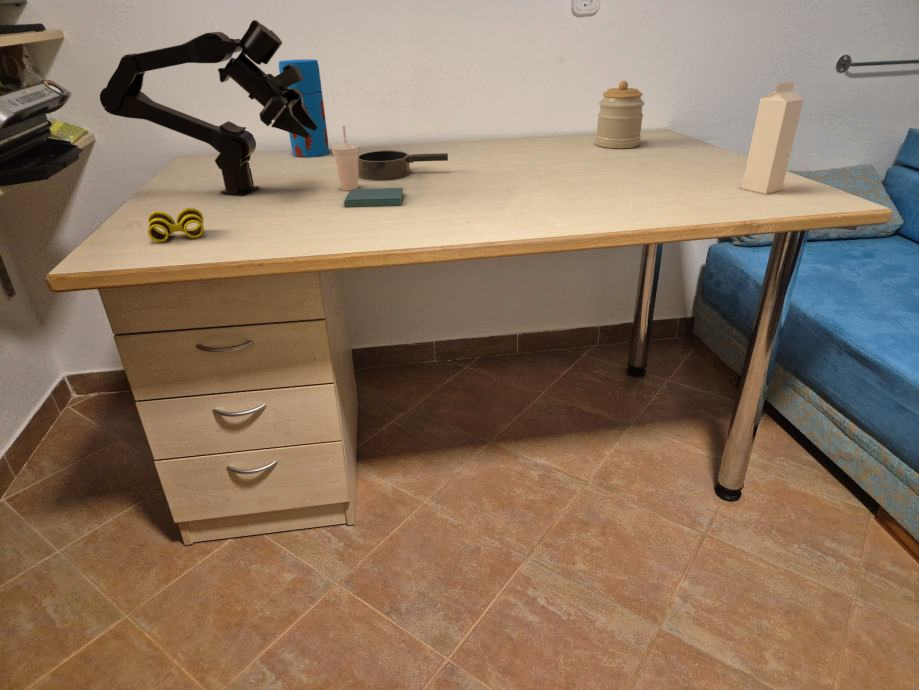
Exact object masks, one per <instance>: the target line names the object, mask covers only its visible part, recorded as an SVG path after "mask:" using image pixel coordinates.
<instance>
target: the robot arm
mask: <svg viewBox="0 0 919 690" xmlns="http://www.w3.org/2000/svg"><path fill="white" fill-rule="evenodd" d="M282 44H283V41H282V40H281V38H280V37H279V36H278V34H276V33H275V32H274V31H273V30H271V29H269V28H268V27H267V26H265V25H263V24H262V23H261V22H259V21H258V20H257V19H253V20H252V21H251V22H250V24H249V26H248V29H247V30H246V31H245V33H244V34H243V36H242V37H241V39H240V38H230V37H229V35H228V34H226V33H224V32H222V31H211V32H205V33H202V34H200V35H198V36H195V37H194V38H192V39H190V40H188V41H186V42H184V43H182V44H178V45H173V46H168V47H164V48H158V49H154V50H149V51H143V52H139V53H136V52H135V53H128V54H123V55H122V57H121V58H120V60H119V63H118V65H117V68H116V69H115V71H114V72H113V73H112V75H111V77H110V78H109V80H108V82H107V85H106V87H104V88H103V89H101V91H100V94H99V101H100V104H101V106H102V108H103V111H105V112H107V113H108V114H110V115H113V116H118V117H123V118H125V119H126V118H128V119H137V120H144V121H148V122H151V123H154V124H156V125H159V126H161V127H164V128H166V129H168V130H171V131H175V132H177V133H180V134H182V135H184V136H187V137H190V138H193V139H195V140H198V141H200V142H203V143H205V144H208V145H209V146H211V147H212V148H213V149H214V150H215V151H216V152H218V153H219V154H218V155H217V156H216V158H215V159H214V162H215V164H216V166H217V167H218V169H219V170H221V174H222V179H223V184H224V188H225V189H222V190H221V191H220V193H221V194H222V195H223V194H224V195H234V196H235V195H237V196H244V195H247V194H250V193H252V192H254V191H256V190H259V189H260V186H259V185H254V179H253V173H252V169H251V166H250V160H251V158H252V157H251V156H252V154H253V153H254V152H255V151H256V148H257V142H256V139H255V137H254V135H253V133H251V132H250V131H249V130H246V129H247V127H246V126H239V125H237V124H236V123H234V122H231V121H229V120H228V121H226V122H224V123H222V124H220V125H215V124H213V123H210V122H208V121H205V120H202V119H200V118H198V117H195V116H192V115H189V114H187V113H185V112H182V111H179V110H176V109H174V108H172V107H169V106H167V105H164V104H161V103H158V102H157V101H154V100H152V99H151V98H150V97H149V96H148V95H147V94H146V93H144V92H143V91H142V88H143V85H144V77H145V74H146V72H149V71H154V70H160V69H165V68H169V67H174V66H179V65H184V64H219V63H222V62H226V61H228V62H227V63H226V65H225V66H224V67H218V68H217V71H218V74H219V82H220V83H226V82H228V81H229V80H230V79H232V80H233V81H234V82H235V83H236V84H237V85H238V86H239V87H240V88H242V89H243V90H244V91H245V92H246V93H248V98H249V99H250V100H255V101H256V102H258V103H259V104H260V105H261V106H262V107H263V108H262V110H261V111H260V112H259V119H260V121H261V122H262V123H263V124H264V125H266V127H269V126H270V127H271V128H275V129H278V130H281V131H284V132H287V133H289V132H290V133H293V134H296V135H299V136H301V137H304V138H308V137H309V135H310V134H309V133H308V131H307V130H306V129H305V128H304V127H303V126H305V127H307V128H309V129H311V130H314V131H315V130H316V129H317V126H316V124H315V123H314V121H313V120H312V118H311V117H310V116H309V114H308V113H307V111H306V110H305V108H304V106H303V96H301V95H302V93H301V92H300V91H299V90H298V89H297V88H289V89H288V88H287V87H289V86H291V85H292V84H296V83H297V82H300V81H301V80H303V79H304V78H303V76H302V74H301V73H300V72H301V70H300V69H298V67H297V66H296V65H295V66H292V65H291V64H288V65H287V66H285V67H283V72H282V73H280V72H279V74H277V75H275V76H274V74H272V73H266V72H265V71H263V69H261V68H260V67H259V66H260V65H262V64H264V65H268V64H269V62H270V61H271V60H272V59H273V57H274V56H275V54H276V53H277V51H278V50H279V48H281V46H282ZM235 53H239V54H238V56H237V57H236V58H235V57H233V55H234V54H235ZM258 65H259V66H258ZM300 96H301V97H300ZM299 97H300V98H299ZM302 125H303V126H302Z"/></svg>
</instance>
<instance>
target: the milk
mask: <svg viewBox="0 0 919 690" xmlns="http://www.w3.org/2000/svg"><path fill="white" fill-rule="evenodd" d="M794 84H795V82H794V81H789V82H780V83H777V84H776V85H775V91H773V92H772V93H770V94H768V95H765V96H764V97H762V98H760V100H759V105H758V109H757V114H756V119H755V123H754V128H753V134H752V139H751V143H750V148H749V152H748V157H747V162H746V167H745V171H744V177H743V180H742V186H741V189H743V190H746V191H751V192H756V193H759V194H764V195H767V194H771V193H775V192H779V191H781V190H782V189H783V186H784V182H785V179H786V174H787V171H788V165H789V163H790V162H789V161H790V157H791V154H792V153H791V152H792V149H793V144H794V140H795V137H796V132H797V128H798V124H799V120H800V117H801V112H802V108H803V103H804V98H803V97H802V96H801V95H799V93H797V92H796V91H795V90H794V89H793V88H794Z"/></svg>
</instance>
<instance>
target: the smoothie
mask: <svg viewBox="0 0 919 690" xmlns="http://www.w3.org/2000/svg"><path fill="white" fill-rule="evenodd" d="M346 131H347V130H346V125H342V133H343V143H340V144H334V145H332V146H331V152H332V154H333V157H334V161H335V165H336V170H337V174H338V179H339V181H340V186H341V190H342V191H351V190H352V189H359V175H358V155H359V151H360V145H359V144H356V143H348V140H347V132H346Z"/></svg>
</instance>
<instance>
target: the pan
mask: <svg viewBox="0 0 919 690" xmlns="http://www.w3.org/2000/svg"><path fill="white" fill-rule="evenodd" d="M409 155H410V154H409V153H408V152H406V151H401V150H374V151H367V152H364V153H360V154H358V178H360V179H364V180H369V181H390V180H397V179H402V178H405V177H407V176H409V175H410V174H411V163H409Z"/></svg>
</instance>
